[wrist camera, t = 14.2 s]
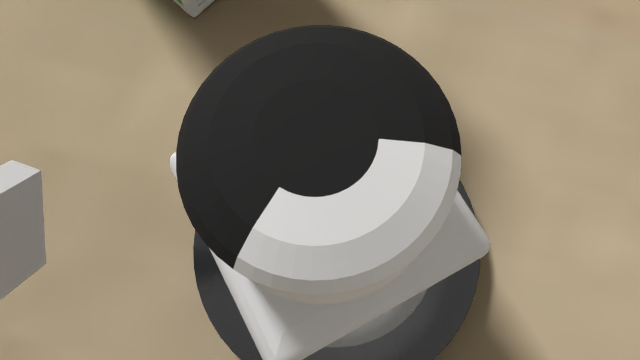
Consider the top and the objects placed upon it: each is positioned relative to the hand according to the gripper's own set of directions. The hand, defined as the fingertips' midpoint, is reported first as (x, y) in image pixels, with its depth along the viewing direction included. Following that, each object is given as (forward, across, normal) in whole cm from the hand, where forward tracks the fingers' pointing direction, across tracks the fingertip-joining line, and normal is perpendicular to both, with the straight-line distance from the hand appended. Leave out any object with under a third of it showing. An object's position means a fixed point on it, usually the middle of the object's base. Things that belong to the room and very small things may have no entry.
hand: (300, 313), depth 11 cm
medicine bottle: (+9, -1, -5) cm, 11 cm away
